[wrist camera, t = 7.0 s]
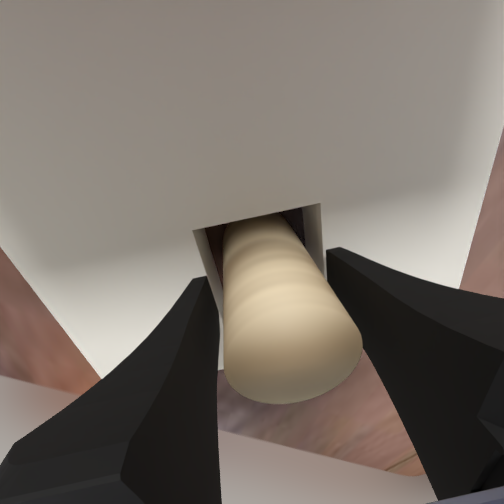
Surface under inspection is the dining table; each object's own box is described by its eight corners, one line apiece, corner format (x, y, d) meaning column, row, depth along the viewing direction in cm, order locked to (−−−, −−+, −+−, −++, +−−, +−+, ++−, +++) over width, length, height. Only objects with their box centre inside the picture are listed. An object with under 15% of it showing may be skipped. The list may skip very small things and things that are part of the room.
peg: (295, 263, 15) (360, 388, 8) (231, 277, 15) (239, 414, 8) (288, 200, 13) (365, 291, 6) (215, 216, 13) (206, 326, 6)
